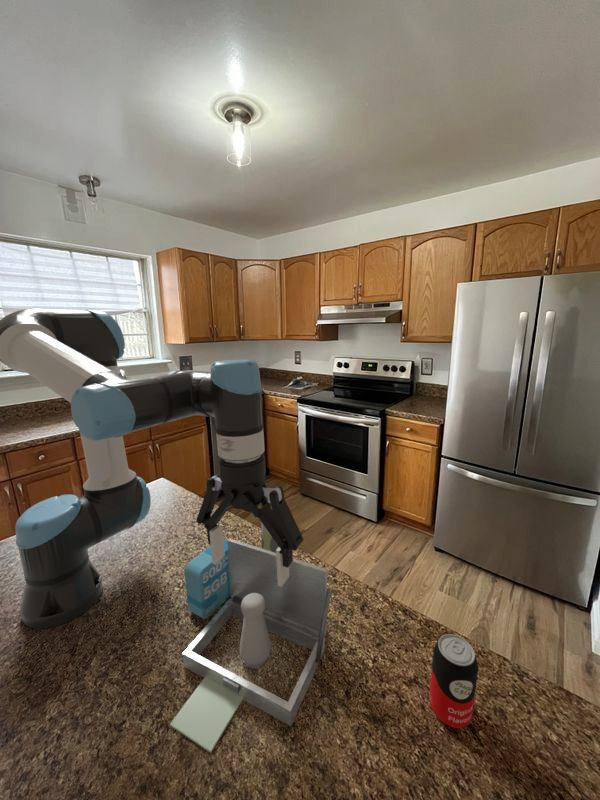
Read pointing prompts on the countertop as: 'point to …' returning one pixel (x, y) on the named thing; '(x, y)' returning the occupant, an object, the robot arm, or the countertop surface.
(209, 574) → the data package
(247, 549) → the case
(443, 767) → the countertop surface
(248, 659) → the salt shaker
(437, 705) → the beverage can
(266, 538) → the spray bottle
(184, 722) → the pad
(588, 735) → the countertop surface
